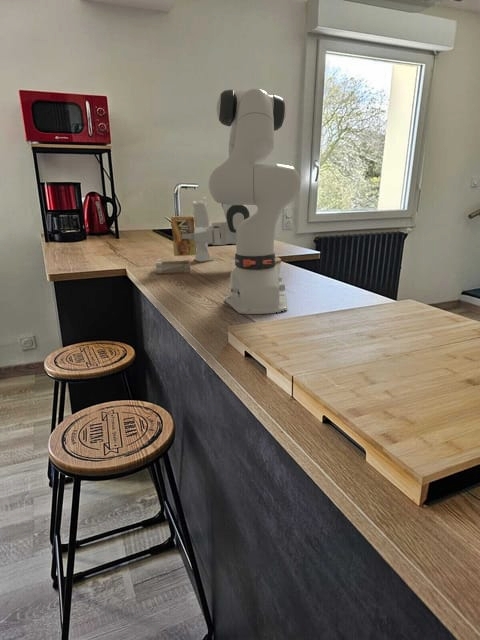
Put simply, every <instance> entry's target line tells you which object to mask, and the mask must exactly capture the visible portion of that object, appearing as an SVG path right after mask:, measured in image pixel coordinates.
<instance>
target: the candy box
mask: <svg viewBox="0 0 480 640" xmlns="http://www.w3.org/2000/svg"><path fill="white" fill-rule="evenodd" d="M170 220H171V221H170V223H171V233H172V245H173V256H174V257H181V256H182V257H184V256H185V257H186V256H189V257H190V256H196V252H197V248H196V242H194V239H182V234H190V233H194V231H195V220H194V216H193V215H180V216H179V215H178V216H177V215H176V216H171V218H170Z"/></svg>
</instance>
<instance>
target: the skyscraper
mask: <svg viewBox="0 0 480 640" xmlns="http://www.w3.org/2000/svg"><path fill="white" fill-rule="evenodd" d="M191 204H192V207H193V215H192V216H194V220H195V227H208V226H210V218H209V215H208V211H207V206H208V198H206V197H205V196H204V197H203V198H202V200H197V201H195V200H193V201H192V203H191ZM208 247H209V243H196V255H195V257H194V259H193V261H194V260H196V261H195V262H198V263H207V262H212V261H215V258H214V259H213V258H211V257H210V252H209V250H208Z"/></svg>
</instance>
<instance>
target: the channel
mask: <svg viewBox="0 0 480 640" xmlns="http://www.w3.org/2000/svg"><path fill="white" fill-rule="evenodd" d="M155 265H156V275H157V276H158V275H159V276H162V275H161V274H164V275H182V273H185V274H191V260H190V259H189V260H188V259H185V260H170V261H169V260H168V261H167V260H165V261H163V259H162V258H158V259H156V262H155Z"/></svg>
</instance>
